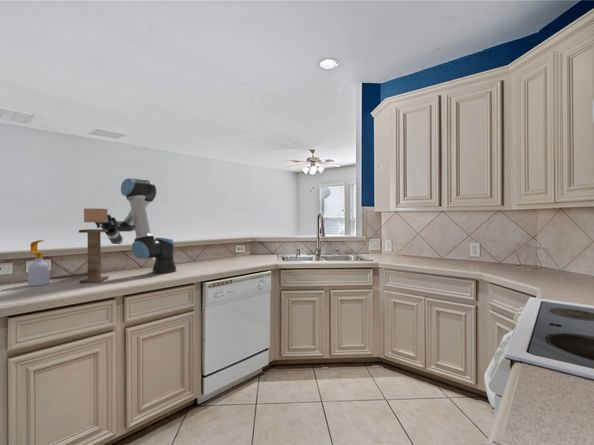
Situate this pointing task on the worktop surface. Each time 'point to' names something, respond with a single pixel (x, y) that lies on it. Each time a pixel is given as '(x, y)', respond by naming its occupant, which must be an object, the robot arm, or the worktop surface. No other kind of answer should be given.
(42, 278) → the soap bottle
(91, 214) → the handled block
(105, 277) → the tall stand
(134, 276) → the worktop surface
